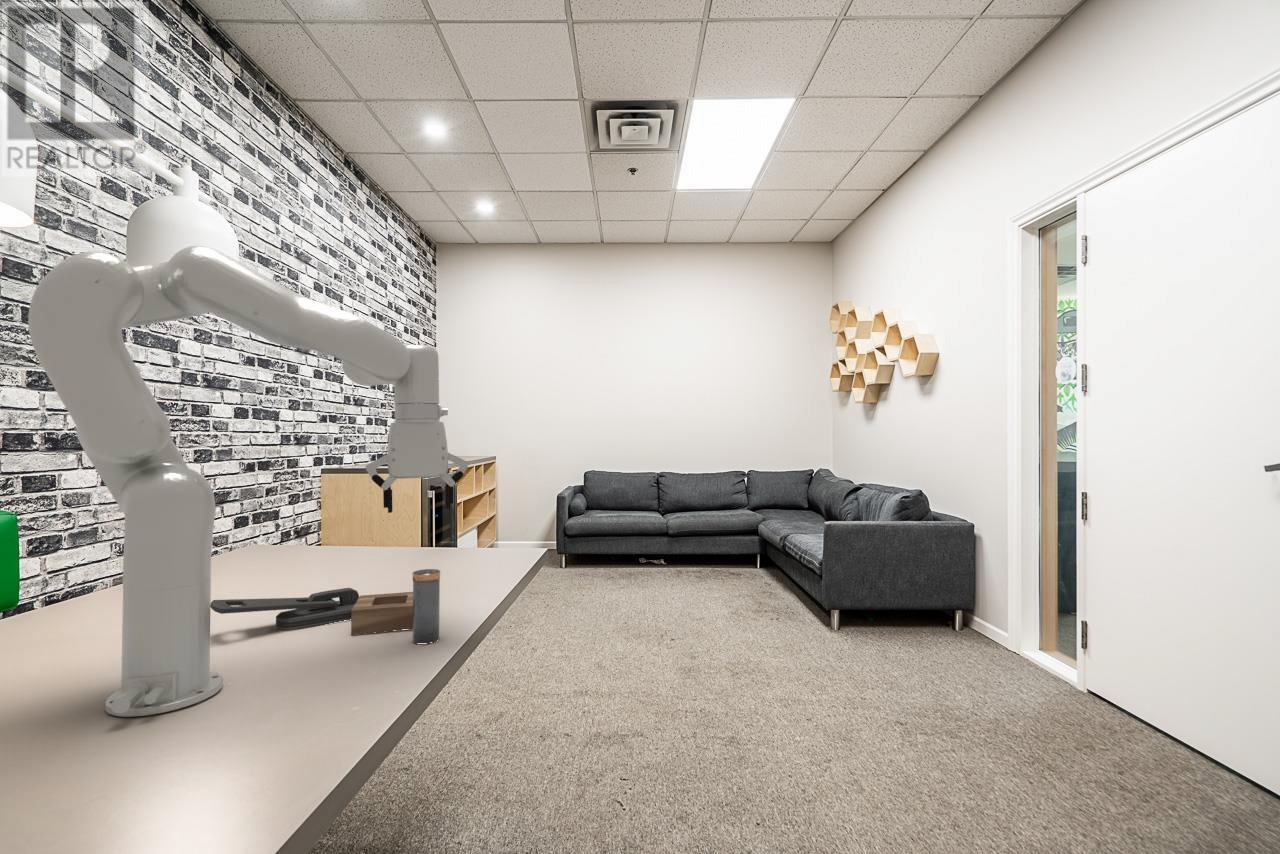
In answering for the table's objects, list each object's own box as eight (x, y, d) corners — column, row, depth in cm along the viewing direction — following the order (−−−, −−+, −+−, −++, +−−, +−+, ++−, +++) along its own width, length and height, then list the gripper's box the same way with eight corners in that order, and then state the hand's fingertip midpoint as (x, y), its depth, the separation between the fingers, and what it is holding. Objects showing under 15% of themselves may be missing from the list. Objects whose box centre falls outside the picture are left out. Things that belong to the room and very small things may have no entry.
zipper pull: (206, 599, 109) (351, 577, 126) (206, 636, 108) (351, 608, 126) (216, 609, 102) (367, 584, 120) (216, 648, 102) (367, 617, 120)
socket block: (421, 629, 112) (422, 604, 112) (351, 635, 108) (351, 610, 108) (424, 613, 122) (424, 590, 122) (359, 618, 119) (360, 595, 119)
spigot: (439, 643, 104) (440, 573, 104) (411, 646, 102) (411, 575, 103) (440, 635, 108) (440, 568, 108) (412, 637, 107) (413, 570, 107)
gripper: (465, 415, 114) (466, 504, 114) (365, 415, 108) (367, 511, 108) (469, 413, 107) (471, 509, 107) (363, 414, 101) (365, 516, 101)
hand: (419, 510), depth 107 cm, fingers open, 9 cm apart
